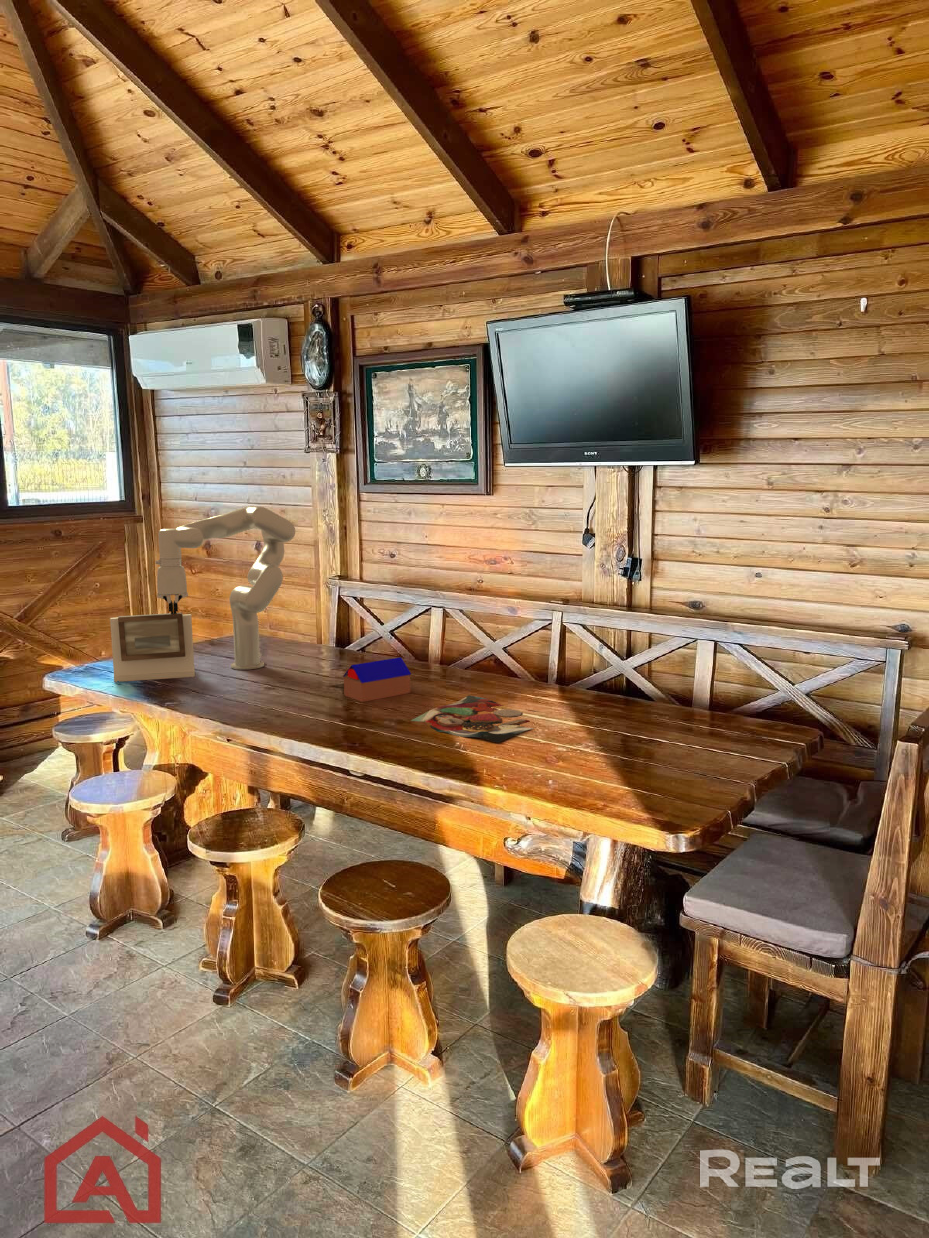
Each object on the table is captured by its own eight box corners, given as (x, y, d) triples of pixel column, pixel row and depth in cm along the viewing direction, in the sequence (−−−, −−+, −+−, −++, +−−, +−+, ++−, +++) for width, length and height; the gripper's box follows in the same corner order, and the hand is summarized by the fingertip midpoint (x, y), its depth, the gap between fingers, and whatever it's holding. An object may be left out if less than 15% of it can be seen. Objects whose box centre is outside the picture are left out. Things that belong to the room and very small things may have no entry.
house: (411, 693, 313) (411, 659, 311) (362, 702, 300) (361, 668, 298) (391, 686, 322) (391, 654, 320) (343, 695, 309) (342, 662, 308)
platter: (400, 725, 274) (400, 719, 274) (469, 701, 303) (469, 695, 303) (498, 746, 254) (498, 739, 253) (562, 717, 282) (562, 711, 282)
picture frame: (122, 659, 331) (118, 616, 328) (185, 655, 337) (182, 612, 334) (121, 661, 328) (117, 617, 326) (185, 656, 334) (182, 613, 332)
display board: (116, 677, 338) (111, 615, 335) (194, 672, 346) (191, 612, 342) (114, 681, 331) (109, 619, 327) (194, 676, 338) (191, 615, 334)
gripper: (148, 564, 323) (151, 616, 326) (192, 563, 327) (195, 614, 330) (149, 562, 330) (152, 613, 333) (192, 561, 334) (195, 611, 337)
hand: (173, 613), depth 332 cm, fingers closed
